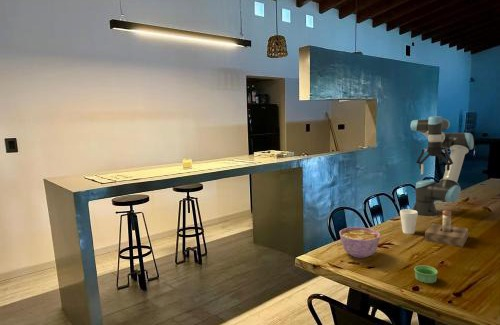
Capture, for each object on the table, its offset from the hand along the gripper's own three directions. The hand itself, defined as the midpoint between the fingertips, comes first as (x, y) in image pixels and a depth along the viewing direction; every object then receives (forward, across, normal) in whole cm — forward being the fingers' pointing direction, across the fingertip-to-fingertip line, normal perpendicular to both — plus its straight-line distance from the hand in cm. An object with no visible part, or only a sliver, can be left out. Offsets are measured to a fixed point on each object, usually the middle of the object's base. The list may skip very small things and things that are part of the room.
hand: (434, 174), depth 208 cm
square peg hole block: (+32, +12, -25) cm, 42 cm away
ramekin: (+32, +14, -81) cm, 88 cm away
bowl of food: (+32, -19, -72) cm, 81 cm away
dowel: (+32, +12, -25) cm, 42 cm away
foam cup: (+32, -8, -25) cm, 41 cm away
